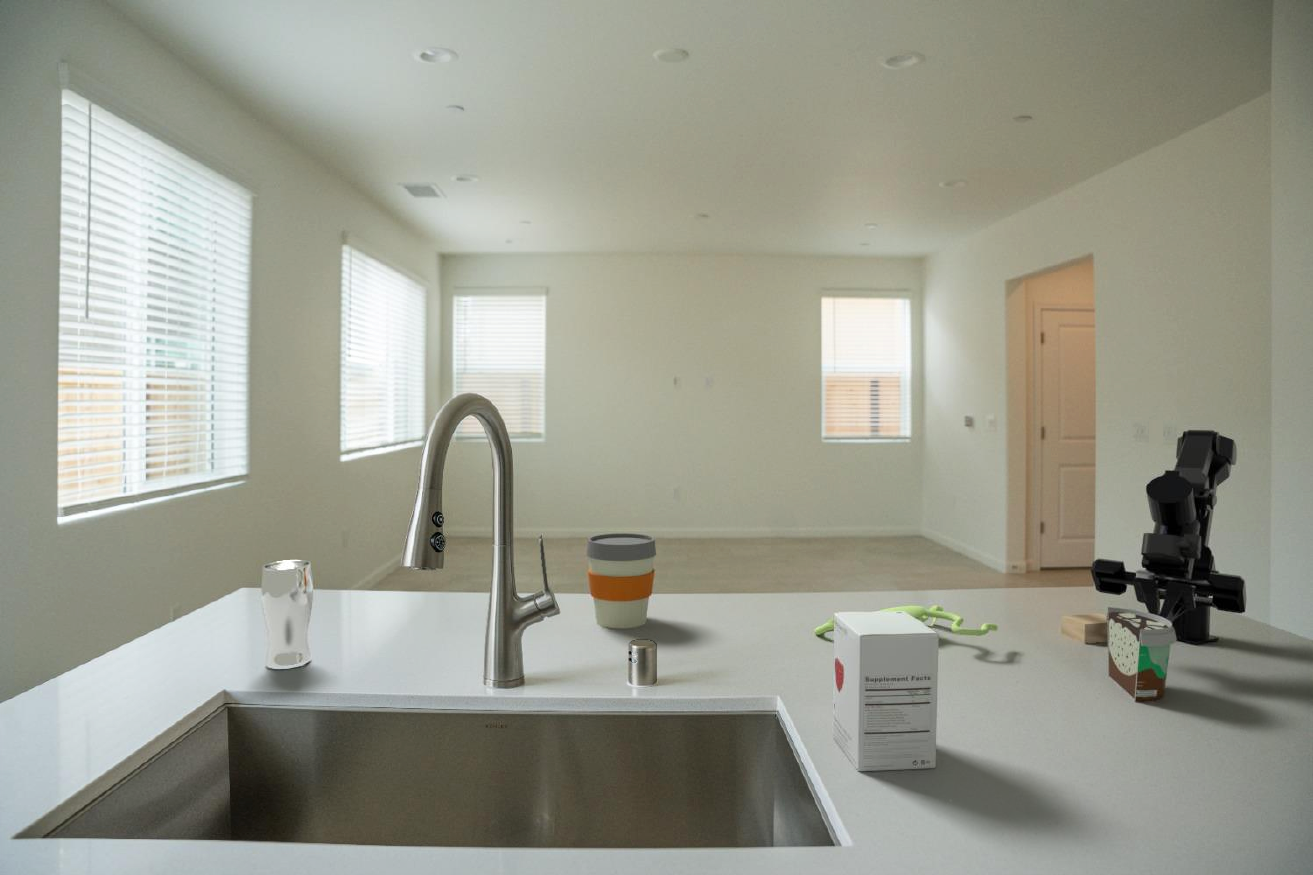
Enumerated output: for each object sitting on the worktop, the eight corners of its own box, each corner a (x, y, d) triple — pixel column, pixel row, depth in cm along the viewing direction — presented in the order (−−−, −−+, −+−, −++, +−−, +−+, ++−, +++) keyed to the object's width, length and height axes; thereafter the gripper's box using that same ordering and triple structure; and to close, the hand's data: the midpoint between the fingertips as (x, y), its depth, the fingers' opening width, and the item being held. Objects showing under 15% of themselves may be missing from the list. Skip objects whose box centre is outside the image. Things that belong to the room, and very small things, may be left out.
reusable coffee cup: (572, 620, 138) (572, 538, 137) (625, 608, 146) (625, 530, 146) (616, 636, 128) (616, 547, 128) (670, 622, 137) (670, 539, 136)
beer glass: (324, 659, 116) (322, 562, 115) (285, 673, 110) (283, 570, 109) (292, 653, 119) (290, 558, 118) (252, 666, 113) (250, 566, 112)
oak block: (1099, 633, 132) (1099, 613, 132) (1123, 641, 127) (1124, 620, 127) (1061, 636, 130) (1061, 616, 130) (1084, 645, 125) (1084, 624, 125)
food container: (1192, 710, 98) (1195, 633, 97) (1139, 706, 99) (1142, 630, 99) (1150, 676, 110) (1153, 608, 109) (1104, 673, 111) (1106, 606, 111)
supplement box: (830, 736, 90) (831, 610, 89) (903, 733, 90) (905, 609, 90) (856, 773, 81) (858, 633, 80) (938, 770, 81) (940, 631, 81)
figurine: (1010, 658, 119) (1011, 623, 118) (848, 667, 115) (849, 630, 114) (947, 625, 137) (948, 594, 137) (806, 631, 133) (806, 599, 133)
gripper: (1095, 506, 118) (1073, 588, 111) (1247, 519, 105) (1233, 612, 98) (1107, 550, 124) (1086, 631, 117) (1251, 567, 111) (1239, 659, 104)
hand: (1156, 632), depth 109 cm, fingers closed
